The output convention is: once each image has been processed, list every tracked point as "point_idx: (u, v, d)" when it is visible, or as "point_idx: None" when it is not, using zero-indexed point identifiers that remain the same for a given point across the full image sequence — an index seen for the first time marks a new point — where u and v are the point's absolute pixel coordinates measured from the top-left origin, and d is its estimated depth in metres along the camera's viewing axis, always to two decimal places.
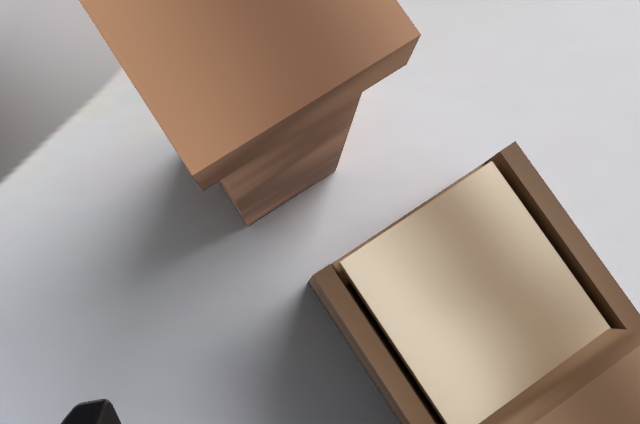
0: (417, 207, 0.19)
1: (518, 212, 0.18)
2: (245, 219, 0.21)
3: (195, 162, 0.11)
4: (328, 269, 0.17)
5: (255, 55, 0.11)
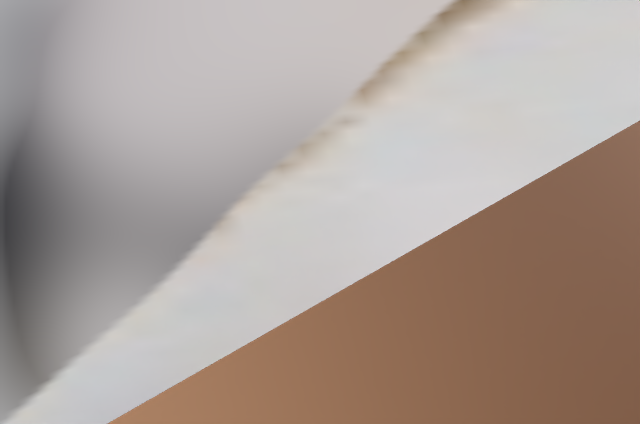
0: None
1: None
2: None
3: None
4: None
5: None
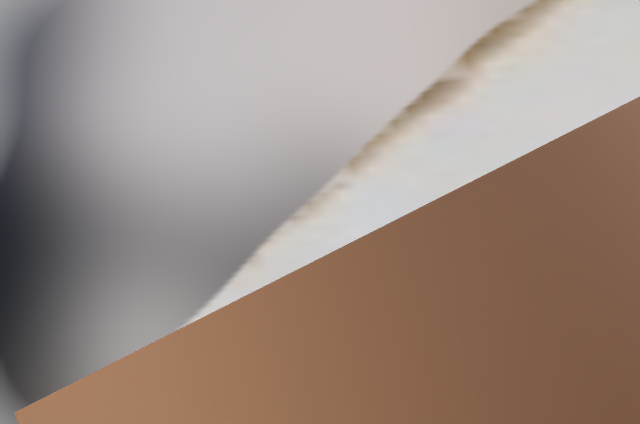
0: None
1: None
2: None
3: None
4: None
5: None
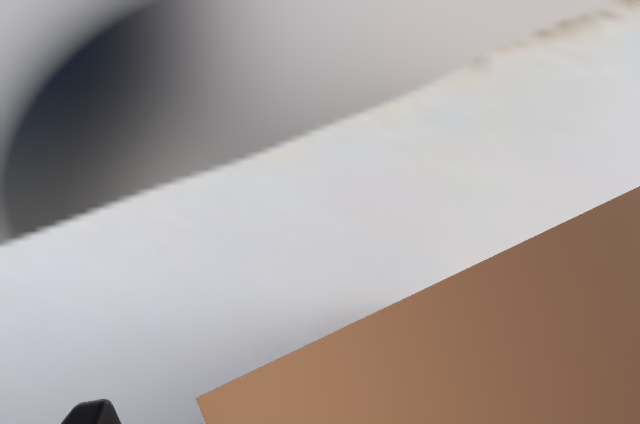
0: None
1: None
2: None
3: None
4: None
5: None
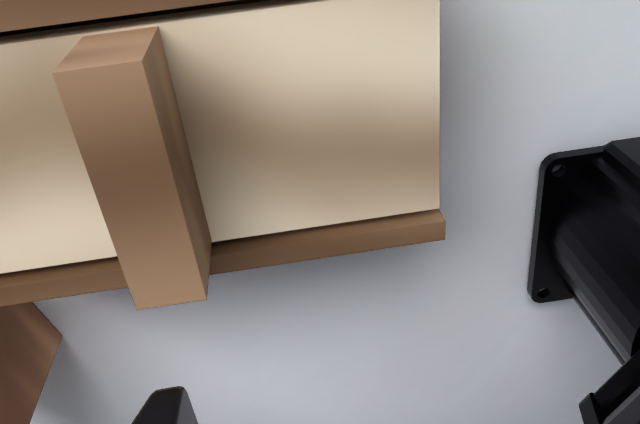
0: None
1: None
2: (49, 368, 0.21)
3: None
4: None
5: None
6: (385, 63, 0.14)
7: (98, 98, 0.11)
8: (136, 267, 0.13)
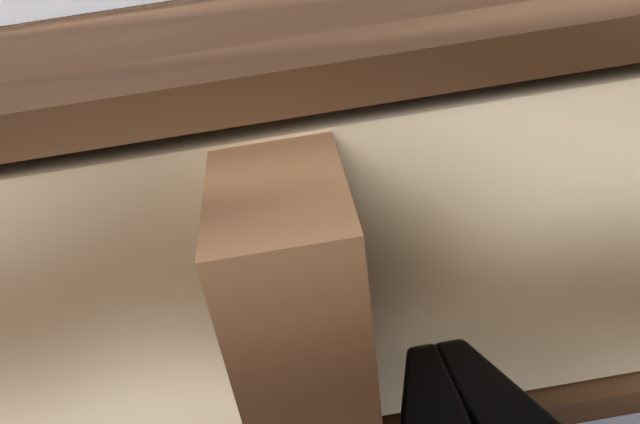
0: None
1: None
2: None
3: None
4: None
5: None
6: None
7: (273, 298, 0.06)
8: None
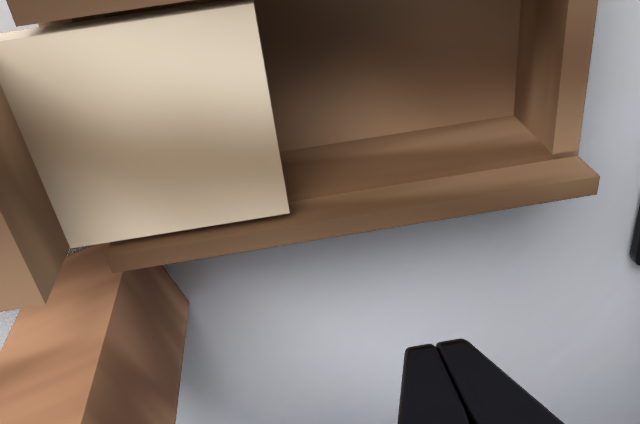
0: None
1: None
2: (185, 331, 0.22)
3: None
4: (111, 258, 0.16)
5: None
6: (212, 76, 0.14)
7: None
8: None
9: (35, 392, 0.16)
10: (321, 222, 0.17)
